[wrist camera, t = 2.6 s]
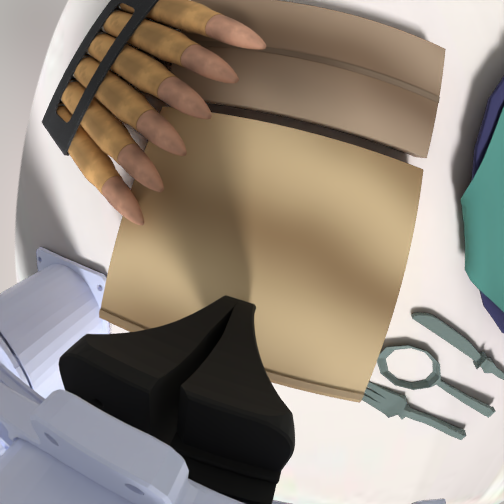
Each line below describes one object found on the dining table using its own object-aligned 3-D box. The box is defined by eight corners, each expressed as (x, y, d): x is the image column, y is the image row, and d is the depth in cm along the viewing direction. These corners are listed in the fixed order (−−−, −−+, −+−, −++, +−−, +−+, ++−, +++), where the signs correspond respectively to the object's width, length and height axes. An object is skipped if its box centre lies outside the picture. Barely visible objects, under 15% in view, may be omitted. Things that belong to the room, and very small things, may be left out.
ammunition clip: (125, -18, 11) (270, 17, 8) (144, -7, 13) (287, 41, 10) (41, 123, 15) (118, 242, 12) (62, 126, 16) (147, 239, 14)
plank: (353, 390, 13) (360, 403, 12) (114, 313, 15) (98, 317, 13) (411, 178, 13) (423, 169, 12) (172, 118, 15) (161, 105, 13)
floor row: (416, 157, 13) (427, 158, 12) (178, 99, 15) (163, 95, 13) (434, 57, 11) (445, 48, 9) (202, 7, 12) (191, -4, 11)
